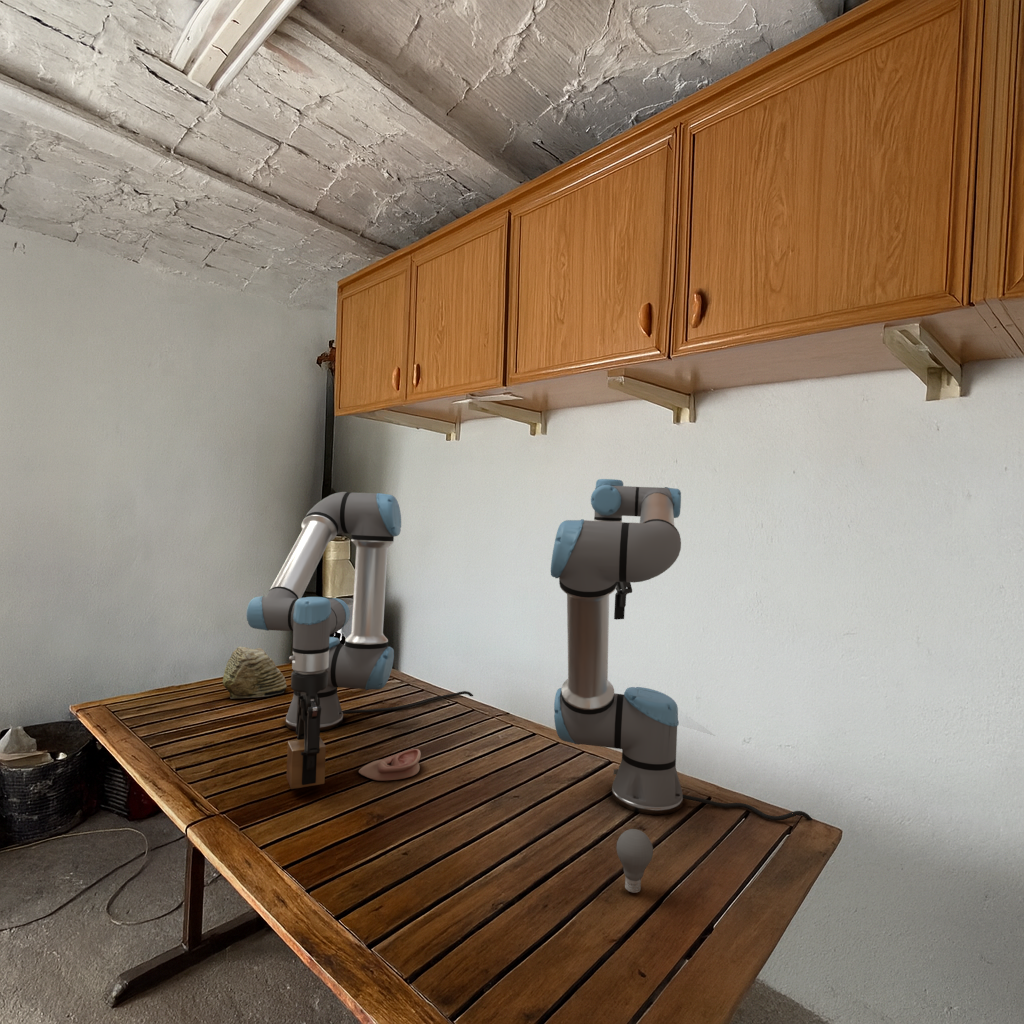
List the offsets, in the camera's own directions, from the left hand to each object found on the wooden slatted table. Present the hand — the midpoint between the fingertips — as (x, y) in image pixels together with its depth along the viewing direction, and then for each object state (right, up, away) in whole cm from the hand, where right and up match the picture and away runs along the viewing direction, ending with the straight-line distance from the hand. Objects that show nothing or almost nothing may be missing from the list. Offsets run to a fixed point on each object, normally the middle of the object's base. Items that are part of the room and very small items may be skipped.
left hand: (305, 776), depth 136 cm
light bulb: (+65, -6, -31) cm, 72 cm away
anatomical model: (+16, -3, +11) cm, 20 cm away
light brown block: (0, -1, 0) cm, 1 cm away
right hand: (+69, +29, +35) cm, 83 cm away
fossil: (-36, 0, +62) cm, 71 cm away
